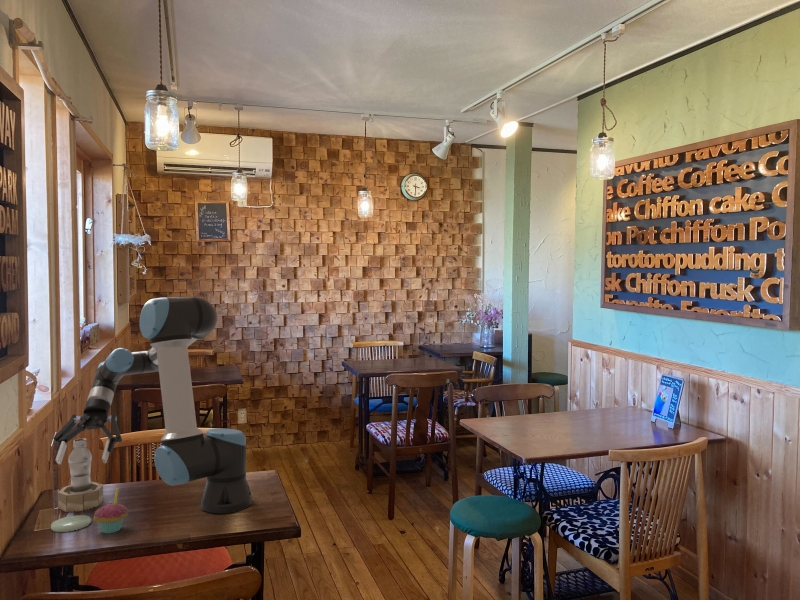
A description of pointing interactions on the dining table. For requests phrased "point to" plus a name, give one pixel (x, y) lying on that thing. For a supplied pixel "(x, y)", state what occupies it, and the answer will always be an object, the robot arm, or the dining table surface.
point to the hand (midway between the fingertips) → (81, 461)
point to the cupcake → (111, 516)
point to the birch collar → (80, 498)
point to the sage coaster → (70, 523)
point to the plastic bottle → (80, 467)
